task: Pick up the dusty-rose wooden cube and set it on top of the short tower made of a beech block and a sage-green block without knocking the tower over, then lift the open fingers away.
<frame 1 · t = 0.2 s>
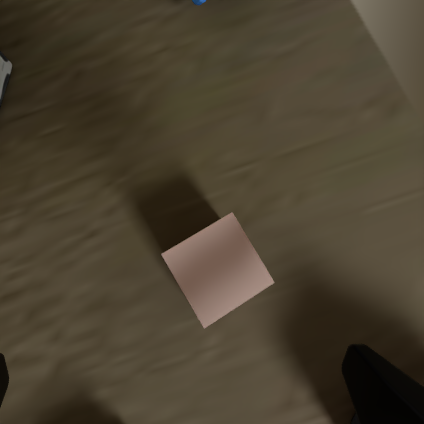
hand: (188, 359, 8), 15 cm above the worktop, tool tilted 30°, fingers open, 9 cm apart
rose cube: (210, 265, 24), on the worktop
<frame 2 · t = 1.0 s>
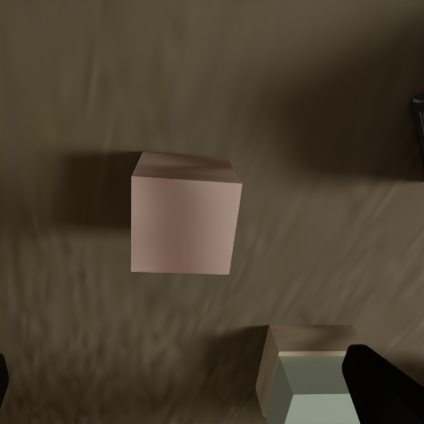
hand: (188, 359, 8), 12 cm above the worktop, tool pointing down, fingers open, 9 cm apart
sage top block: (309, 385, 24), point 3 cm above the worktop, touching beech base block
beech base block: (300, 353, 27), on the worktop, touching sage top block
rose cube: (183, 193, 20), on the worktop
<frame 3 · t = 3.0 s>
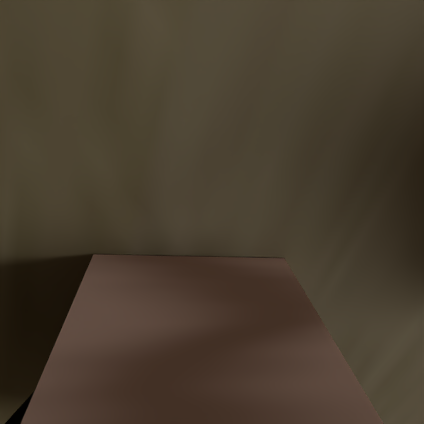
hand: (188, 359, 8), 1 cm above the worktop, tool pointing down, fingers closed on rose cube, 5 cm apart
rose cube: (187, 329, 9), on the worktop, touching gripper
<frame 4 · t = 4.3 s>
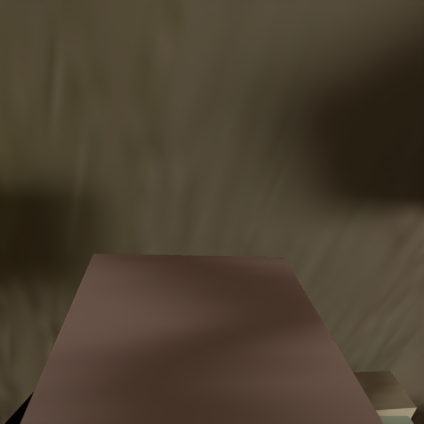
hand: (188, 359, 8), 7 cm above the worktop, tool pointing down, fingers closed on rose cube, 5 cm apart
beech base block: (327, 401, 23), on the worktop, touching sage top block
rose cube: (186, 328, 9), point 6 cm above the worktop, touching gripper
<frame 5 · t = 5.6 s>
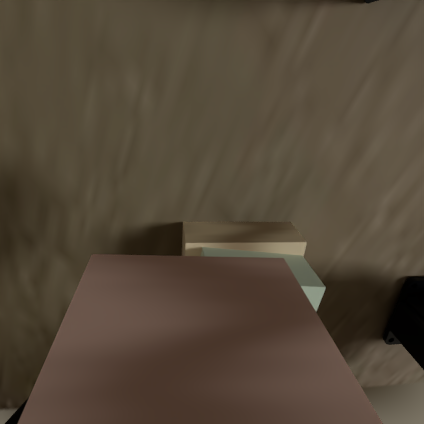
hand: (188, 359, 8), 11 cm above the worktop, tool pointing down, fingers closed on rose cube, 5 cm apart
sage top block: (242, 293, 19), point 3 cm above the worktop, touching beech base block
beech base block: (231, 264, 22), on the worktop, touching sage top block
rose cube: (186, 329, 9), point 10 cm above the worktop, touching gripper
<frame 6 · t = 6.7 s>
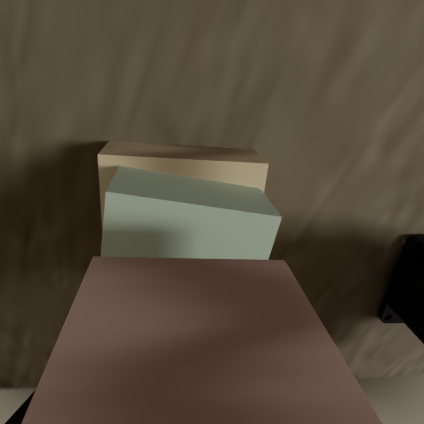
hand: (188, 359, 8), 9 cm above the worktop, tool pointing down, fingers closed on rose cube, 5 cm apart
sage top block: (181, 239, 14), point 3 cm above the worktop, touching beech base block
beech base block: (180, 208, 17), on the worktop, touching sage top block
rose cube: (186, 331, 9), point 8 cm above the worktop, touching gripper
when the fingers open (8 cm above the worktop, at t = 7.6 s): rose cube drops 2 cm, resting on sage top block.
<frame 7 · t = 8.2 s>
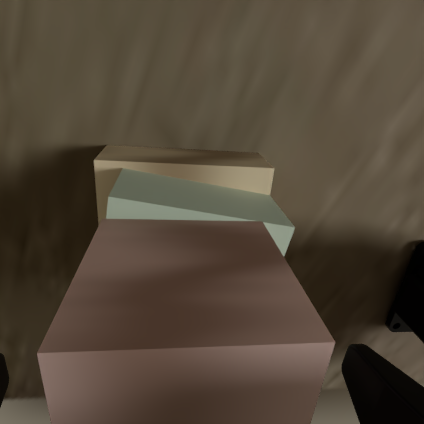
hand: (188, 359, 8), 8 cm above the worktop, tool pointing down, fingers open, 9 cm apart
sage top block: (185, 246, 14), point 3 cm above the worktop, touching beech base block, rose cube
beech base block: (181, 214, 16), on the worktop, touching sage top block
rose cube: (182, 285, 11), point 6 cm above the worktop, touching sage top block
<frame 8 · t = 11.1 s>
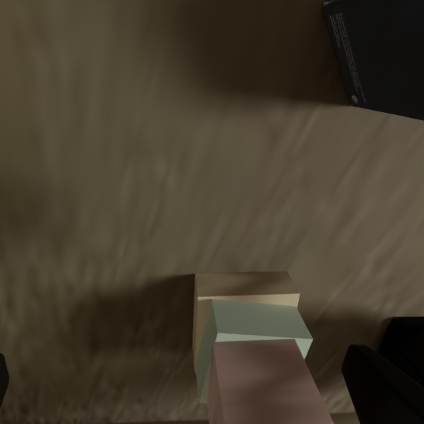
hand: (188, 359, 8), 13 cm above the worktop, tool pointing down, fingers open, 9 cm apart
sage top block: (244, 335, 22), point 3 cm above the worktop, touching beech base block, rose cube
beech base block: (237, 306, 25), on the worktop, touching sage top block
rose cube: (249, 370, 20), point 6 cm above the worktop, touching sage top block
small box: (419, 15, 18), on the worktop
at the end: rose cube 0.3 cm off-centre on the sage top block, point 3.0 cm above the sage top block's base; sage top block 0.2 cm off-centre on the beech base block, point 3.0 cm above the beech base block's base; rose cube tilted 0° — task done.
